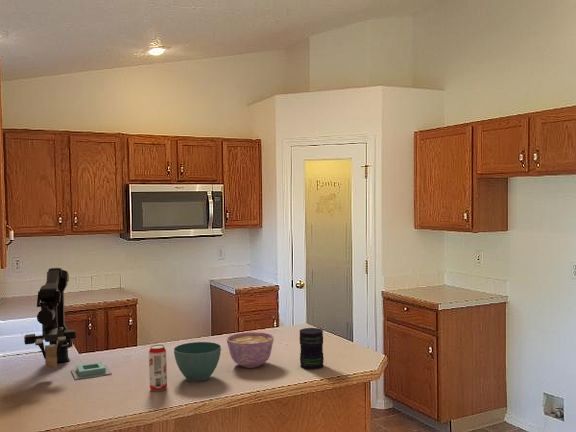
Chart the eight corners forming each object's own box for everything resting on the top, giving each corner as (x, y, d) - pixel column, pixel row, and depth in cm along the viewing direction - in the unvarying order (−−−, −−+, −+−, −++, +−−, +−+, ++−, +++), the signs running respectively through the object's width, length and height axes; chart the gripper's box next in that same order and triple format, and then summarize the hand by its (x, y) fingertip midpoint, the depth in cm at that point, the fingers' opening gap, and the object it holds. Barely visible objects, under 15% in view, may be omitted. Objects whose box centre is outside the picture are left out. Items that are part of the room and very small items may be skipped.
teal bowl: (200, 368, 239) (199, 339, 239) (231, 376, 227) (230, 345, 227) (165, 380, 225) (164, 348, 225) (196, 389, 213) (195, 356, 213)
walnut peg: (45, 365, 230) (44, 345, 230) (56, 363, 232) (55, 344, 232) (46, 367, 227) (45, 347, 227) (57, 366, 229) (56, 346, 228)
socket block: (70, 370, 240) (70, 364, 240) (105, 365, 246) (105, 359, 246) (75, 380, 227) (74, 373, 227) (111, 374, 234) (111, 368, 233)
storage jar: (321, 370, 233) (321, 333, 233) (298, 369, 235) (297, 333, 235) (325, 363, 243) (324, 328, 242) (302, 362, 245) (301, 327, 244)
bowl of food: (217, 368, 239) (217, 340, 238) (243, 356, 256) (242, 330, 256) (259, 374, 229) (258, 345, 229) (283, 361, 247) (282, 334, 247)
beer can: (150, 392, 210) (148, 349, 210) (149, 387, 216) (148, 345, 216) (167, 391, 212) (166, 347, 211) (166, 385, 218) (165, 343, 217)
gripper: (24, 325, 218) (26, 366, 218) (77, 320, 226) (78, 359, 226) (23, 320, 228) (24, 359, 228) (73, 315, 236) (74, 353, 236)
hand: (51, 358), depth 229 cm, fingers closed on walnut peg, 4 cm apart
